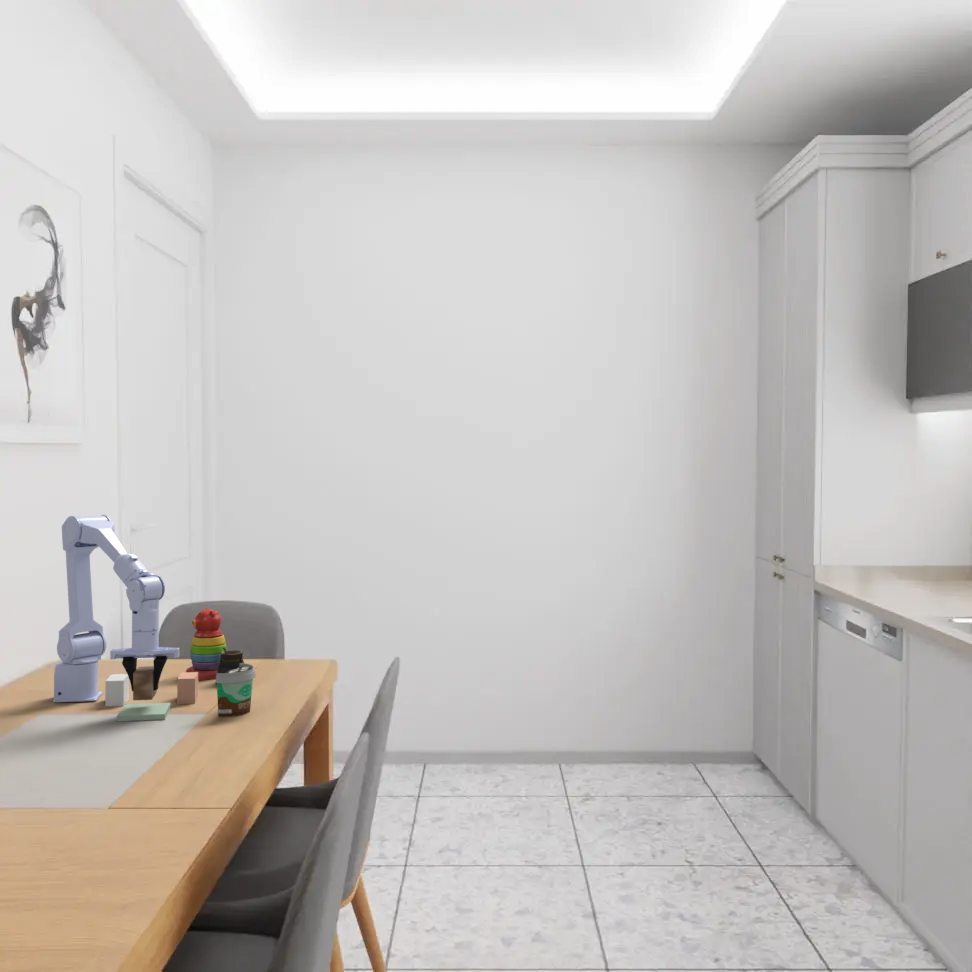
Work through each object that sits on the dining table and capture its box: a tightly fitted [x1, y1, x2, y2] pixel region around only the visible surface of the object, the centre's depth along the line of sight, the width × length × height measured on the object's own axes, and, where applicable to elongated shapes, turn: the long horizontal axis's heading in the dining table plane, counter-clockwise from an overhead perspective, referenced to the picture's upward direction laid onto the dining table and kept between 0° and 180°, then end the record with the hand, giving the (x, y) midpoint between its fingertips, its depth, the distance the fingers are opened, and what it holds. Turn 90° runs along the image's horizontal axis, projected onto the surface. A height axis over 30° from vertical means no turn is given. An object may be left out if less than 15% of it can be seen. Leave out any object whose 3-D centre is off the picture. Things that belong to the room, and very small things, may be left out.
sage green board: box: [116, 702, 172, 722], centre depth 209 cm, size 10×10×1 cm
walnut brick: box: [132, 665, 158, 701], centre depth 209 cm, size 4×7×6 cm, turn 12°
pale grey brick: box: [104, 673, 130, 707], centre depth 219 cm, size 4×7×6 cm, turn 12°
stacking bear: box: [185, 607, 228, 682], centre depth 248 cm, size 11×10×18 cm
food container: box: [215, 662, 257, 718], centre depth 212 cm, size 12×6×10 cm, turn 168°
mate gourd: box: [217, 647, 245, 673], centre depth 241 cm, size 7×8×10 cm
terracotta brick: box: [176, 671, 199, 705], centre depth 223 cm, size 4×7×6 cm, turn 12°
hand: (145, 689), depth 209 cm, fingers closed on walnut brick, 4 cm apart
